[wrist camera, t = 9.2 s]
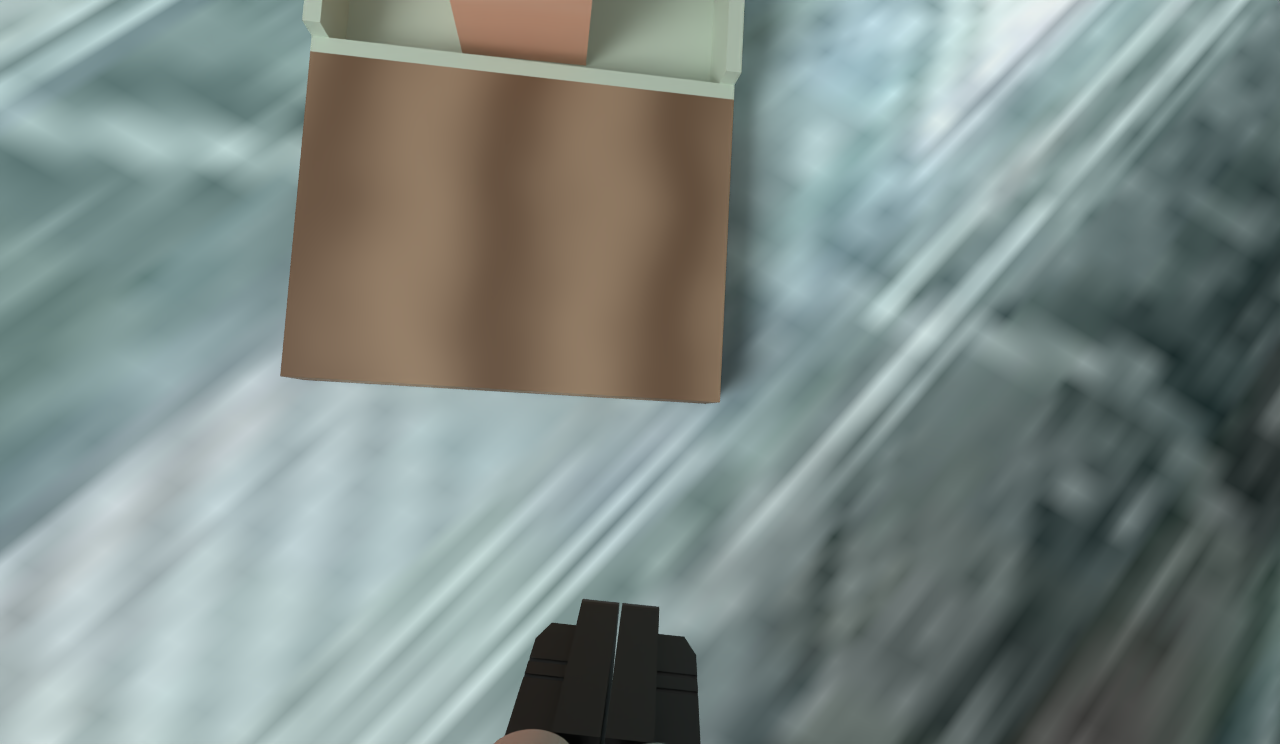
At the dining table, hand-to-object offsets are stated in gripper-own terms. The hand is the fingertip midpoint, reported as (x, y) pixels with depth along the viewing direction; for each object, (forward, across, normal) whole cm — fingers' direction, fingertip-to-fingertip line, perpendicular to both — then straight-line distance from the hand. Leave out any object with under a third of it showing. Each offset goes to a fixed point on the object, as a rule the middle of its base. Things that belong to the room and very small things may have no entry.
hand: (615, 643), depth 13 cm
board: (+17, +6, -6) cm, 19 cm away
